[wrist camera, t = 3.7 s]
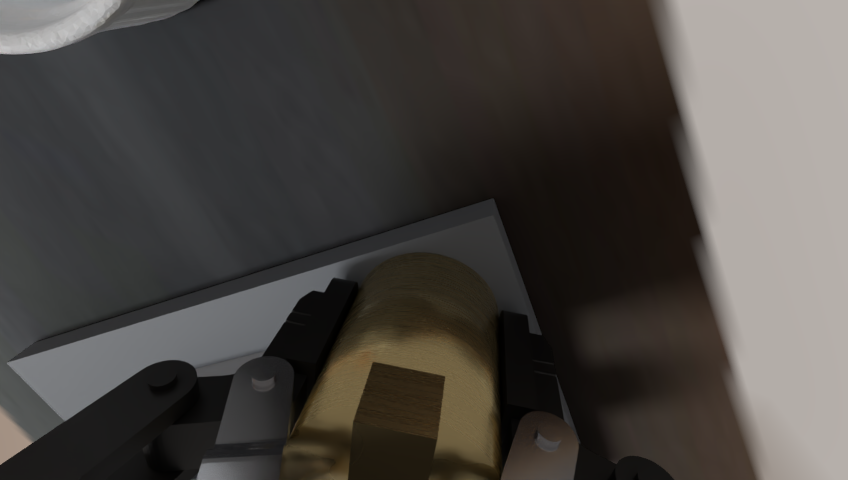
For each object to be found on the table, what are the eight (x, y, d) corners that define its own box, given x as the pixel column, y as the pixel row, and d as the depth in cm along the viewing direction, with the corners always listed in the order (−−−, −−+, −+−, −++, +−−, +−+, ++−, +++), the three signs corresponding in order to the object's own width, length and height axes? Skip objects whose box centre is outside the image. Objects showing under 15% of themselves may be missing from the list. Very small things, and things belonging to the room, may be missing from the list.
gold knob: (363, 208, 12) (243, 398, 6) (522, 237, 12) (553, 463, 6) (350, 375, 15) (260, 611, 9) (476, 401, 15) (467, 659, 9)
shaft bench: (493, 198, 13) (495, 322, 8) (588, 465, 17) (628, 652, 12) (33, 342, 19) (-139, 469, 13) (197, 515, 23) (114, 658, 18)
